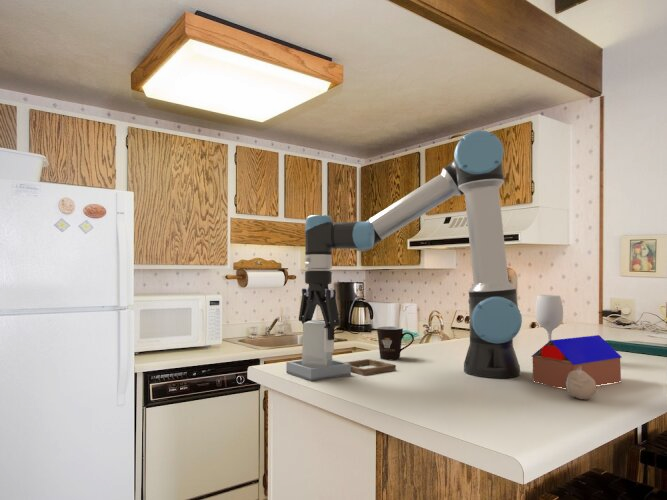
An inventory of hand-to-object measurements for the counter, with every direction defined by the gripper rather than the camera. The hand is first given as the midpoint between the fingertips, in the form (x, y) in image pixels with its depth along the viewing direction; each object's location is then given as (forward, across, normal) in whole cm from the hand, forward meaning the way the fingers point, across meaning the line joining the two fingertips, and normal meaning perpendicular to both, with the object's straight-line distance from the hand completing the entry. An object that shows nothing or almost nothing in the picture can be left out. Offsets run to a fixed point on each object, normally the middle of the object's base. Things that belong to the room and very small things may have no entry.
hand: (318, 349), depth 132 cm
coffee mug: (+7, -5, +33) cm, 34 cm away
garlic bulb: (+7, +56, +34) cm, 66 cm away
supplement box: (+5, 0, 0) cm, 5 cm away
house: (+7, +47, +49) cm, 68 cm away
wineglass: (+7, +27, +71) cm, 76 cm away
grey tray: (+7, 0, 0) cm, 7 cm away
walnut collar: (+7, +3, +15) cm, 17 cm away
